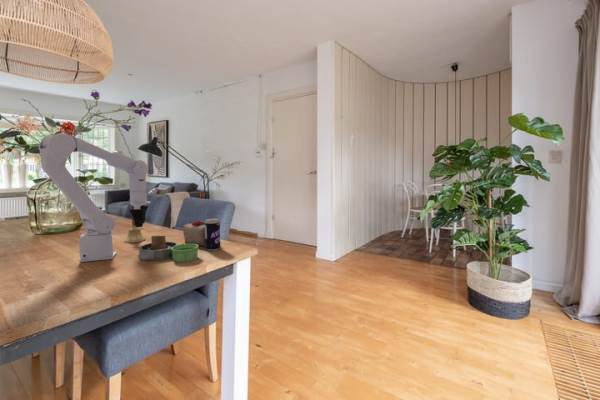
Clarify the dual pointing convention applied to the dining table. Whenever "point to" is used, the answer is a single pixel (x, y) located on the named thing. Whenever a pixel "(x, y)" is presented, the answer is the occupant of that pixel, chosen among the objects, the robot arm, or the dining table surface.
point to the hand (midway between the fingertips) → (140, 225)
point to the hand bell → (134, 233)
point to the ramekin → (185, 252)
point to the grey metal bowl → (156, 252)
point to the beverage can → (212, 234)
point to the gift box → (195, 233)
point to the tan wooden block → (158, 242)
